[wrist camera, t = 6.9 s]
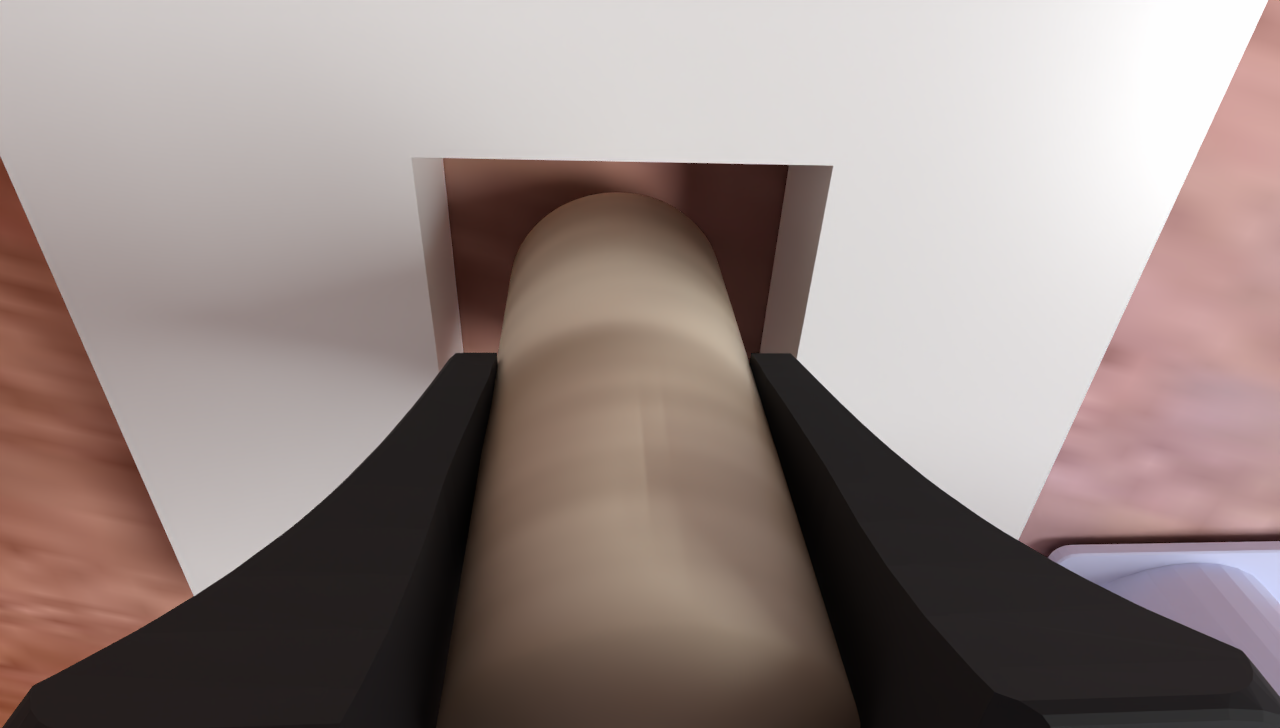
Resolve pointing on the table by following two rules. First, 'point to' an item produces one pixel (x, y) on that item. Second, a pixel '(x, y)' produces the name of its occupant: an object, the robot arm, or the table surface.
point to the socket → (591, 131)
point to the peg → (633, 503)
